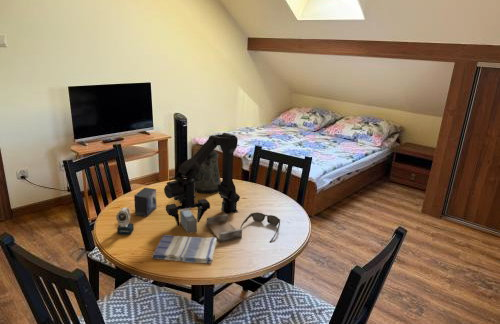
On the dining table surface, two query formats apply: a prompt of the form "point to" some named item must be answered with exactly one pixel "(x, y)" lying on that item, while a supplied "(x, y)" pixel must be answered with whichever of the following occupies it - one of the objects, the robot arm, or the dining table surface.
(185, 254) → the dish towel
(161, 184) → the dining table surface
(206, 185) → the beer stein
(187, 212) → the light blue rectangular block
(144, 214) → the small box
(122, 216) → the watch
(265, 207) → the dining table surface
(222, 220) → the cradle
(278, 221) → the sunglasses
